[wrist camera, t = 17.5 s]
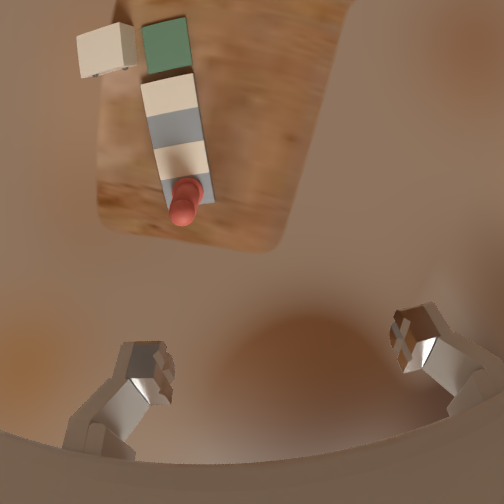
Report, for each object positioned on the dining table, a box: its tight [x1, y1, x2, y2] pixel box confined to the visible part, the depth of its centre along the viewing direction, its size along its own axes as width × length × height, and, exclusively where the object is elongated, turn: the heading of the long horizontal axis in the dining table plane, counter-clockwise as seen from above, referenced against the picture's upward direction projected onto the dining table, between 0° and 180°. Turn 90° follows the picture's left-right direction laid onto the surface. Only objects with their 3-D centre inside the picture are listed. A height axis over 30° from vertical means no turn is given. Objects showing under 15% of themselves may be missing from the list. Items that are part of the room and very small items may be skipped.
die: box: [76, 22, 138, 78], centre depth 25 cm, size 6×5×5 cm
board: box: [141, 73, 215, 209], centre depth 34 cm, size 16×6×1 cm, turn 6°
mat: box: [142, 17, 193, 74], centre depth 27 cm, size 6×5×1 cm
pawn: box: [169, 177, 204, 226], centre depth 34 cm, size 4×4×7 cm
